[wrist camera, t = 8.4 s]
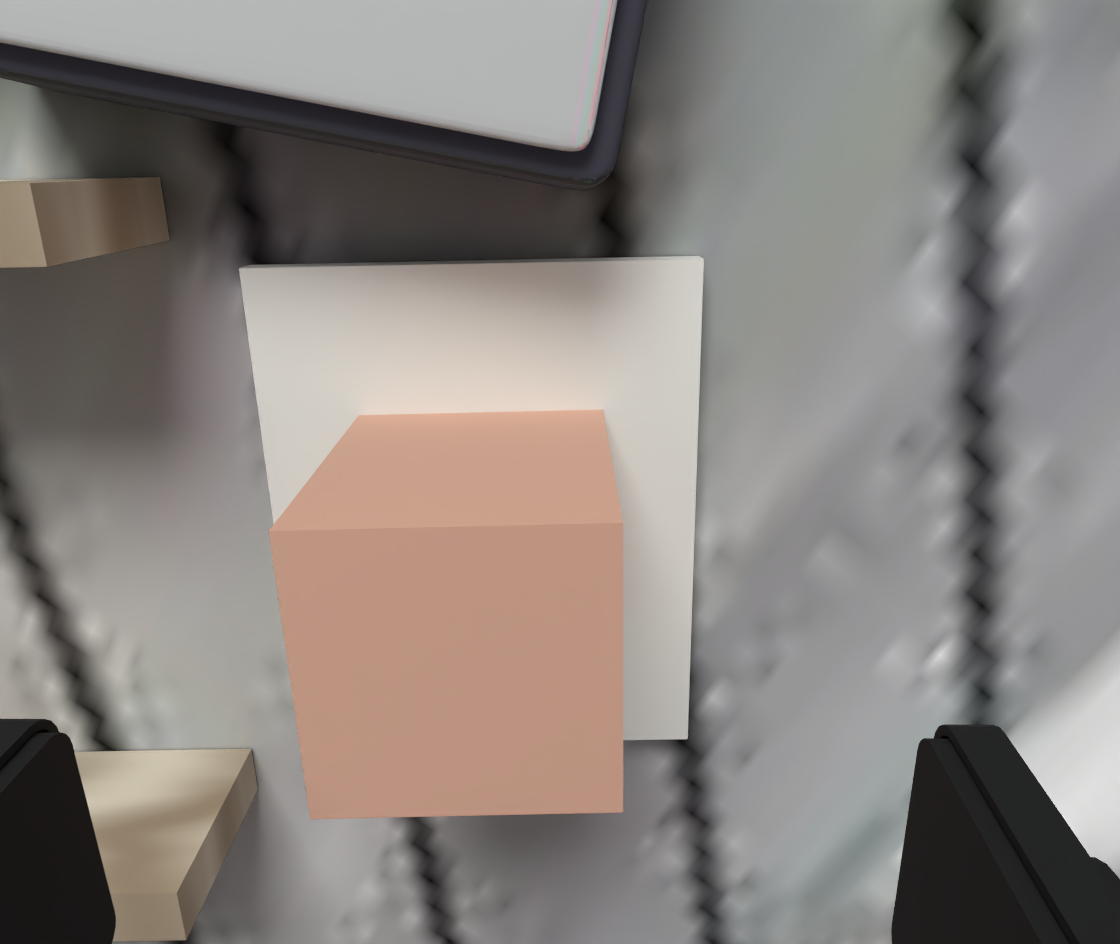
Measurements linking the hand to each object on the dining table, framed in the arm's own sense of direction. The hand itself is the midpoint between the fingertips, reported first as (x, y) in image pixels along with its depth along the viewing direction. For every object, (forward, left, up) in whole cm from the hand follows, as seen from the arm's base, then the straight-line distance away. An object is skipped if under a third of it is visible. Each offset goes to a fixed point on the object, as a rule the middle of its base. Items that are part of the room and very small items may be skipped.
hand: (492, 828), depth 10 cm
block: (+1, 0, -10) cm, 10 cm away
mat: (+1, 0, -10) cm, 10 cm away
